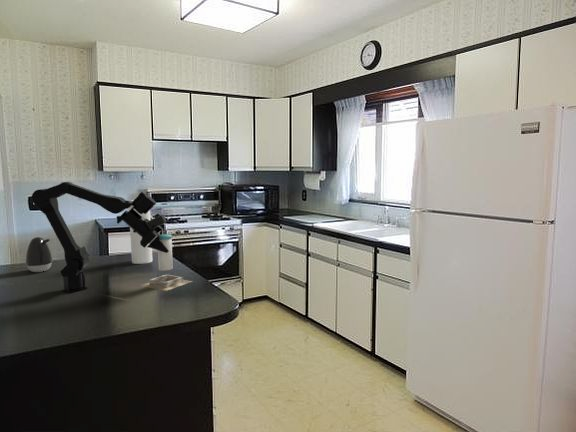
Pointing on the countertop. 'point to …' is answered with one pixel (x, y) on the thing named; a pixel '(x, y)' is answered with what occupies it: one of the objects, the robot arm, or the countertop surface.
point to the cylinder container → (138, 251)
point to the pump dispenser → (38, 255)
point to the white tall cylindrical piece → (165, 258)
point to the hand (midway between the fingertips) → (168, 250)
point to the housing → (166, 282)
